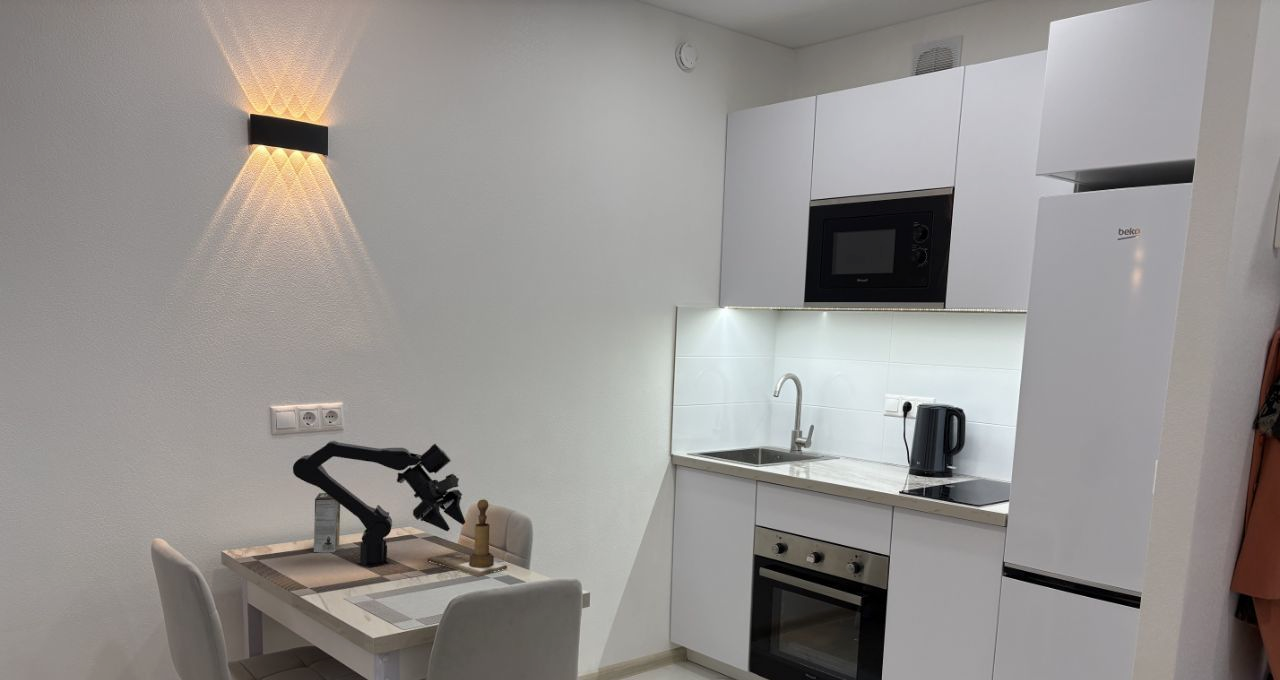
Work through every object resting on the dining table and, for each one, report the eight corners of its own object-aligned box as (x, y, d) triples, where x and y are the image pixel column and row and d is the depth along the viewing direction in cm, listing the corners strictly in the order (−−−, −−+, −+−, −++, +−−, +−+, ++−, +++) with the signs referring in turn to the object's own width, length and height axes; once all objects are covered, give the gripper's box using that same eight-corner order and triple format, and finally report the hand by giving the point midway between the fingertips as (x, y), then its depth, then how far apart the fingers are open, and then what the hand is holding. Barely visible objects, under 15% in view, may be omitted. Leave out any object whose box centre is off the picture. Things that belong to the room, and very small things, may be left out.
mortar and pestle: (473, 568, 232) (474, 502, 232) (466, 563, 238) (467, 498, 238) (496, 566, 235) (498, 500, 235) (489, 560, 241) (490, 497, 241)
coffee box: (317, 545, 258) (318, 492, 258) (339, 545, 260) (341, 492, 260) (313, 553, 249) (314, 498, 250) (336, 552, 251) (337, 497, 251)
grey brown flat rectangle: (477, 576, 229) (477, 572, 229) (427, 561, 243) (427, 557, 243) (507, 569, 237) (507, 564, 237) (456, 555, 251) (456, 551, 251)
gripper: (424, 470, 231) (459, 514, 228) (456, 461, 249) (490, 502, 246) (397, 497, 233) (432, 541, 230) (431, 486, 251) (464, 527, 248)
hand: (456, 526), depth 239 cm, fingers open, 9 cm apart
